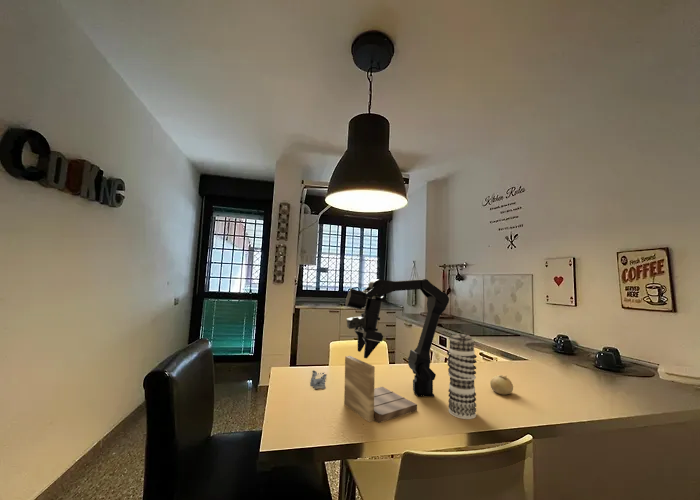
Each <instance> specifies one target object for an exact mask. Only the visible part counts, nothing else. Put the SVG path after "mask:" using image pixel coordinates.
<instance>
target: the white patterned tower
mask: <svg viewBox="0 0 700 500" xmlns="http://www.w3.org/2000/svg"><path fill="white" fill-rule="evenodd" d="M448 340H449V347H448V351H446V354H447V355H448V357H446V358H447V366H448V368H447V370H448V376H449V384H448V386H449V388H448V392H449V393H448V397H449V398H448V402H447V403H448V413H449V414H450V415H451V416H453V417H455V418H458V419H462V420H473V419H475V418H476V417H477V413H476V412H477V408H476V407H477V403H476V401H477V397H476V396H477V392H476V387H475V380H476V378H477V376H476V374H477V372H476V370H477V366H476V365H475V363H477V360H476V358H477V355H476V353H475V343H474V342H475V340H474V339H473V338H472V337H471V336H470V334H467V333H466V334H465V333H453V334H452V335H451V336H450V337H449V338H448Z"/></svg>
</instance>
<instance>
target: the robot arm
mask: <svg viewBox="0 0 700 500" xmlns="http://www.w3.org/2000/svg"><path fill="white" fill-rule="evenodd" d="M414 290H415V291H416V290H419V291H421V293H422V295H424V297H425V298H427V299H426V306H427V307H426V309H427V312H426V313H427V314H426V317H425V321H424V322H423V323H424V324H423V327H422V330H421V333H420V336H419V339H418V344H417V347H416V348H415V349H414V350H413V349H410V351H409V355H408V358H407V361H408V362H407V364H408V366H409V368H410V370H412V373H413V374H414V375H413V376H414V379H412V391H413V392H414V394H415V396H416V397H421V398H422V397H424V398H425V397H428V398H429V397H430V398H432V397H433V398H434V397H435V393H434V392H433V391H434V380H435V379H436V376H437V375H436V374H437V373H435V372H434V371H433V370H432V369H431V368H430V366H431V354H430V353H431V352H430V350H431V347H432V345H433V340H434V336H435V334H436V331H437V327H438V323H439V319H440V316H441V315H442V314H443V313H444V312H445V310H446V309H447V307H448V305H449V303H450V297H449V295H448V293H446V292H444V291H442V290H441V289H439V287H437V286H435V285H434V284H433V283H431V282H430V281H429V279H427V278H426V279H425V278H419V279H409V280H407V279H405V280H386V279H376V278H375V279H372V280H371V281H370V282H369V283H368V286H367V287H366V288H364V289H363V290H357V289H356V288H351V287H350V289H349V291H348V293H347V296H346V297H345V298H346V299H345V307H347V308H352V309H356V310H362V309H364V311H363V312H362V313H361V314H360V316H353V317H352V316H351V317H348V318H346V327H347V328H348V329H350V330H352V329H354V333H355V334H356V337H357V339H356V340H357V352H359V353H361V352H362V350H363V348H364V352H363V358H364V359H368V358H369V357H370V355H371V354H372V352H373V351H374V349H376V348H377V346H379V344H381V342H383V339H384V335H383V333H382V332H380V331H378V330H379V329H378V328H377V326H378V323H379V321H381V317H380V313H381V309H382V305H383V303H384V304H388V303H389V301H388V299H386V296H384V295H387V294H391V293H394V292H398V291H414ZM369 296H370V297H369Z"/></svg>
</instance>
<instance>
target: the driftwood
mask: <svg viewBox="0 0 700 500" xmlns="http://www.w3.org/2000/svg"><path fill="white" fill-rule="evenodd" d="M311 373H312V374H311V375H312V376H311V380H310V382H309V383H310V387H312V389H314V390H317V389H326V388H327V387H326V378H327V374H326V373H325V372H321V373H322V374H321V376H320V378H316V377H318V374H317V371H316V370H314V369H313V370H312V371H311ZM324 373H325V374H324ZM314 390H313V391H314Z"/></svg>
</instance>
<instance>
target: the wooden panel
mask: <svg viewBox="0 0 700 500" xmlns="http://www.w3.org/2000/svg"><path fill="white" fill-rule="evenodd" d="M417 411H418V404H417V403H415V402H413V401H412V400H409V399H408V398H405V396H401V395H400V394H397V393H396V392H394V391H392V390H390V389H388V388H386V387H384V386H380V387H376V388H375V387H374V420H373V421H376V422H377V423H379V424H380V423H382V422H386V421H389V420H392V419H395V418H398V417H402V416H405V415H408V414H411V413H414V412H417Z"/></svg>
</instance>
